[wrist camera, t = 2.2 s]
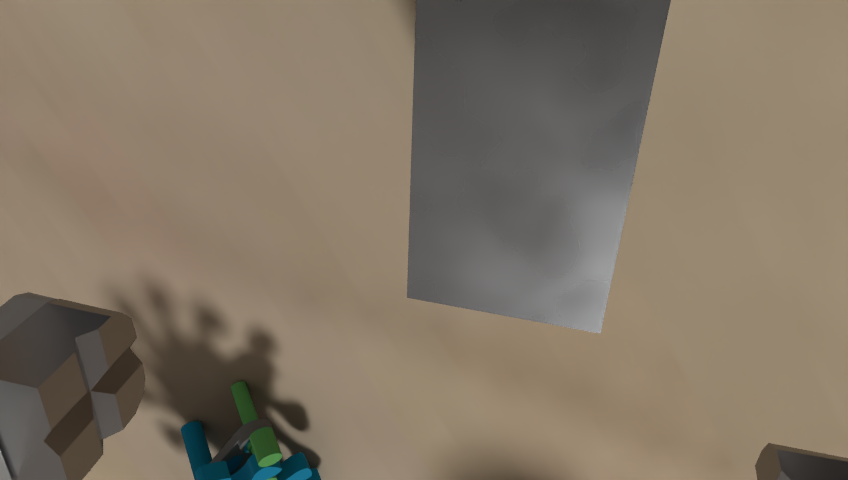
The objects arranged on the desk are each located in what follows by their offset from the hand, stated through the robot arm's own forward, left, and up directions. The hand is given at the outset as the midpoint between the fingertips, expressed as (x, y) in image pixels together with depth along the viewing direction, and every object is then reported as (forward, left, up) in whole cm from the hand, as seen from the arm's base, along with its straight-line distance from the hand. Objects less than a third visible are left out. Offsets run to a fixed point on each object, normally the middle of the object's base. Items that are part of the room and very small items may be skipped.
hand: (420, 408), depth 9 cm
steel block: (0, 0, -16) cm, 16 cm away
